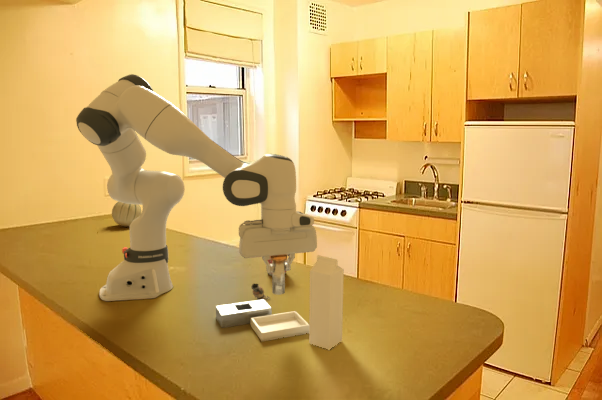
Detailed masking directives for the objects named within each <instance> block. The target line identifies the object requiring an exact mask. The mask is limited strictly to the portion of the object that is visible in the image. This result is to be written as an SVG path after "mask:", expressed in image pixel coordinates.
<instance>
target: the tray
mask: <svg viewBox="0 0 602 400" xmlns="http://www.w3.org/2000/svg"><path fill="white" fill-rule="evenodd" d="M250 327H251V329H253V331H254V332H255V334H256V336H257V337H258V338H259V339H260V341H261V342H266V341H272V340H278V338H279V339H283V337H284V338H289V337H295V335H296V336H301V335H307V334H309V323H308V321H306V320H305V319H304V318H303V317H302V315H300V314H299V313H298V312H297V310H294V311H287V312H280V313H273V314H272V315H266V316H260V317H253V318H251V323H250ZM306 333H307V334H306Z"/></svg>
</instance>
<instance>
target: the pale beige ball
mask: <svg viewBox="0 0 602 400" xmlns="http://www.w3.org/2000/svg"><path fill="white" fill-rule="evenodd" d="M141 214H142V208H141V206H140V205H139V204H126V203H122V202H119V201H116V203H114V205H113V207H112V210H111V217H112V220H113V221H114V222H115V223H116V224H117V225H120V226H121V227H125V228H126V227H130V224H131V222H132V221H133V220H134V219H136V218H138V217H139V216H141Z"/></svg>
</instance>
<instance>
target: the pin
mask: <svg viewBox="0 0 602 400" xmlns="http://www.w3.org/2000/svg"><path fill="white" fill-rule="evenodd" d="M287 259H288V256H287V254H285V255H275V256H270V260H272V265H273V266H274V269H273V270H274V272H272V277H271V279H272V282H271V283H272V286H271V287H272V289H271V290H272V291H271V292H272V294H273V295H276V296H277V295H278V296H279V295H284V294H285V293H286V292H285V291H286V288H285V287H286V283H285V282H286V280H285V279H286V277H285V276H286V275H285V274H286V273H285V260H287Z"/></svg>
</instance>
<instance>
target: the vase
mask: <svg viewBox="0 0 602 400" xmlns="http://www.w3.org/2000/svg"><path fill="white" fill-rule="evenodd" d="M251 290H252V295H253V296H254V298H256V300H262V299H264V300H265V301H268V300H271V297H270V296H268V295H267V296H266V295H265V291H264V288H263V287H262V286H260V285H259V284H258V283H252V285H251Z"/></svg>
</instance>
